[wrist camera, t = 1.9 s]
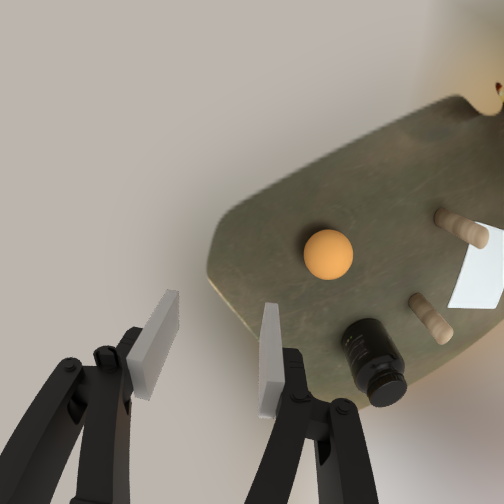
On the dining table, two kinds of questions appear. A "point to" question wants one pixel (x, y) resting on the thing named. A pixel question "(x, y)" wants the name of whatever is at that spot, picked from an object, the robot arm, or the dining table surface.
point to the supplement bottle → (375, 362)
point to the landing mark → (481, 274)
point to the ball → (328, 254)
